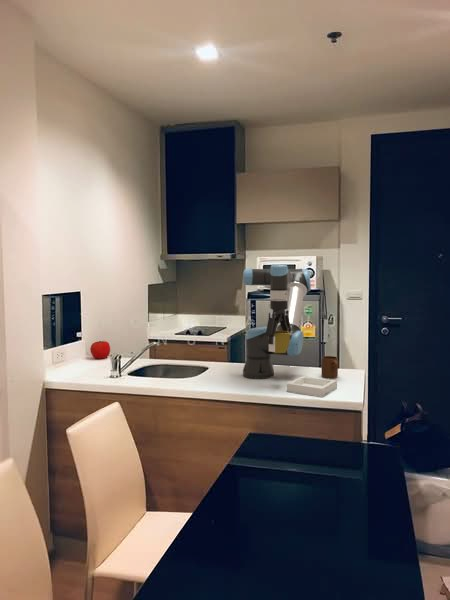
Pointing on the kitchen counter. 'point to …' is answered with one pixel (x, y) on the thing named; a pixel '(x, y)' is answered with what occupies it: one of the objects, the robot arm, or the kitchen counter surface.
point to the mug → (329, 367)
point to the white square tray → (312, 386)
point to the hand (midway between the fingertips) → (278, 349)
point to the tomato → (100, 349)
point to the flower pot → (281, 341)
